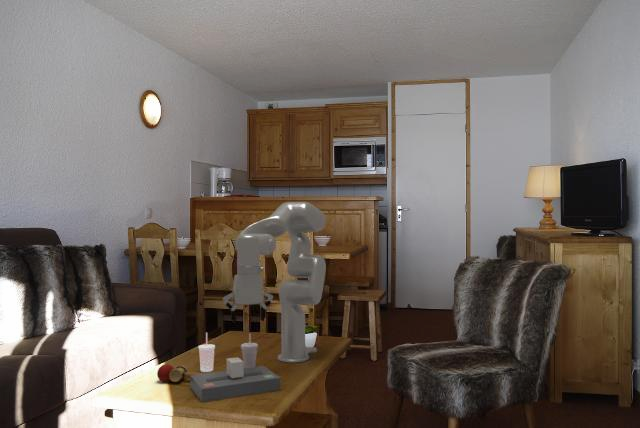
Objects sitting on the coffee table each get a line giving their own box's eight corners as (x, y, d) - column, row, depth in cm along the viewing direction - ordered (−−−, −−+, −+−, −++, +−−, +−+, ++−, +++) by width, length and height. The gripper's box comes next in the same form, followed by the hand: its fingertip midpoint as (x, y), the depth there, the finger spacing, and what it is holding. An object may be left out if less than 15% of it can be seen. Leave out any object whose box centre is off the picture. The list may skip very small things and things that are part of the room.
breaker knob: (238, 372, 184) (238, 357, 184) (243, 376, 179) (243, 361, 179) (226, 373, 182) (226, 358, 182) (231, 378, 177) (231, 363, 177)
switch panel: (260, 374, 196) (260, 363, 196) (280, 389, 179) (280, 377, 179) (188, 384, 185) (188, 372, 185) (201, 402, 168) (201, 388, 168)
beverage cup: (211, 372, 199) (211, 334, 199) (195, 372, 200) (195, 334, 200) (217, 368, 205) (217, 331, 205) (202, 367, 206) (202, 330, 206)
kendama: (211, 381, 193) (161, 374, 194) (212, 365, 192) (162, 358, 193) (205, 392, 185) (153, 385, 186) (206, 375, 184) (154, 367, 185)
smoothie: (244, 374, 197) (244, 335, 197) (238, 369, 203) (238, 332, 203) (260, 371, 200) (260, 333, 200) (254, 367, 206) (254, 330, 206)
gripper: (270, 269, 192) (270, 317, 192) (221, 270, 186) (221, 321, 186) (275, 271, 185) (275, 321, 185) (224, 272, 179) (224, 325, 179)
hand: (248, 321), depth 185 cm, fingers open, 9 cm apart
